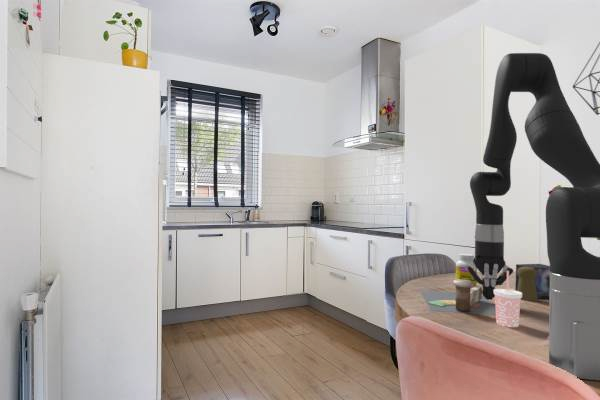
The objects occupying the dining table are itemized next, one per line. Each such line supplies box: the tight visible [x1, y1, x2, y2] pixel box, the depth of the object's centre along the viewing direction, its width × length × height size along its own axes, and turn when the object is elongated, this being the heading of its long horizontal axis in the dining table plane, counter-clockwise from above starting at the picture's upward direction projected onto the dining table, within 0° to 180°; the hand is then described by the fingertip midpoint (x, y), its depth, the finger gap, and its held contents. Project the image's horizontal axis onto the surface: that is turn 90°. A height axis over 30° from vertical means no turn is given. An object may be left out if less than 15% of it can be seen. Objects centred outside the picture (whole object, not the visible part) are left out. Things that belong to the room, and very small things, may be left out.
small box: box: [514, 263, 550, 300], centre depth 120 cm, size 11×6×10 cm, turn 105°
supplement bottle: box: [455, 253, 478, 289], centre depth 126 cm, size 7×7×13 cm
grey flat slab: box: [419, 289, 496, 316], centre depth 108 cm, size 24×19×2 cm
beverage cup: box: [493, 271, 522, 328], centre depth 88 cm, size 6×6×14 cm
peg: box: [453, 278, 483, 311], centre depth 103 cm, size 17×5×8 cm, turn 139°
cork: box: [517, 267, 539, 302], centre depth 112 cm, size 6×6×11 cm
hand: (488, 298), depth 106 cm, fingers closed
